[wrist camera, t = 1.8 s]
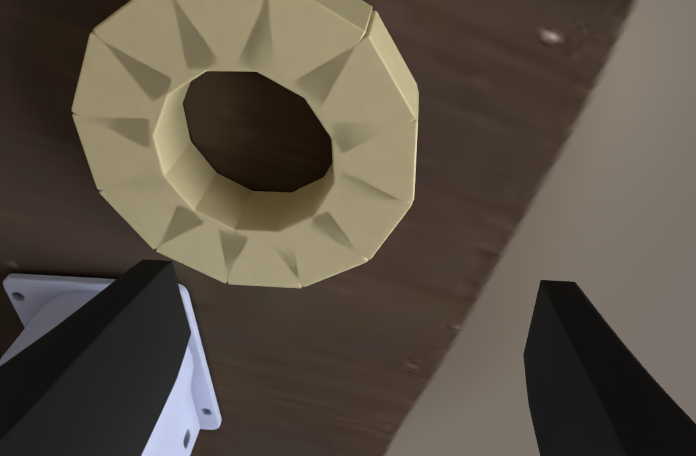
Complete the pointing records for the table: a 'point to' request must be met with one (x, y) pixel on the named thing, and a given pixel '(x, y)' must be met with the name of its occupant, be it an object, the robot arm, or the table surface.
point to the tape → (220, 192)
